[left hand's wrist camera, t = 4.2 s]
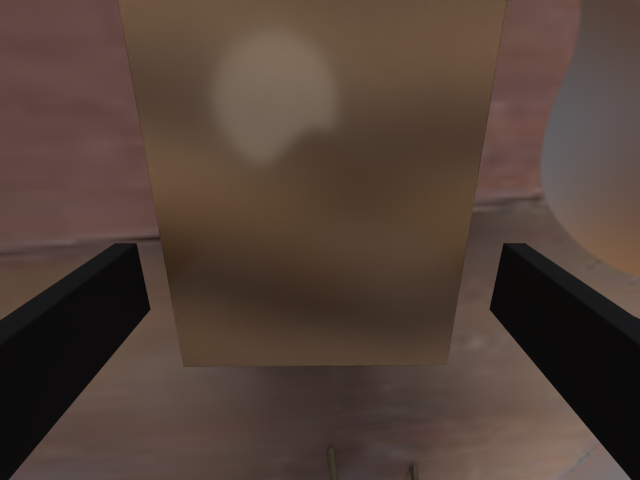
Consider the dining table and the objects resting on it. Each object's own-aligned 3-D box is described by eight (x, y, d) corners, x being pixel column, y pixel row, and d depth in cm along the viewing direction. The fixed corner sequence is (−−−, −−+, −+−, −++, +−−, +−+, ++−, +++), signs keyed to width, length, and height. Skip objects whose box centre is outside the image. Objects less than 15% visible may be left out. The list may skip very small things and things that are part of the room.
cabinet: (197, -103, 16) (52, -360, 7) (430, -102, 16) (566, -354, 7) (234, 268, 23) (183, 367, 14) (397, 267, 23) (447, 365, 14)
